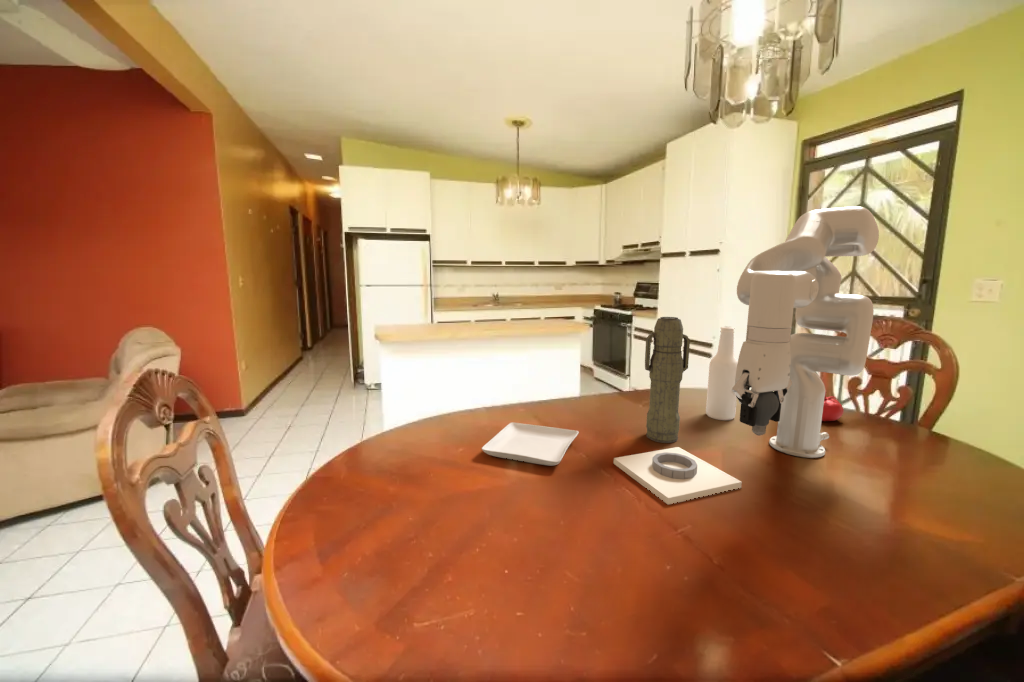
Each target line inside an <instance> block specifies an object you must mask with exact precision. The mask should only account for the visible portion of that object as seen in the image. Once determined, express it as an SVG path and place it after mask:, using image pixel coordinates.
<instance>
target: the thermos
mask: <svg viewBox="0 0 1024 682" xmlns="http://www.w3.org/2000/svg"><path fill="white" fill-rule="evenodd" d="M652 339H653V342H652ZM652 343H653V349H652V354H651V348H652V345H651V344H652ZM690 344H691V339H690V338H689V336H688V335H687V334H685V333H684V327H683V324H682V320H681V318H679V317H675V316H660V318H657V320H656V322H655V325H654V328H653V332H651V333H649V334H648V336H647V337H646V338H645V353H644V355H645V356H644V370H646V371H648V372H649V376H648V377H649V380H650V391H649V408H648V411H647V413H646V425H645V427H646V435H645V436H646V438H647V439H649V440H651V441H654V442H656V443H662V444H672V443H676V442H677V441H678V440H679V431H680V421H681V417H680V416H681V415H680V412H679V406H680V405H679V404H680V390H681V389H680V388H681V383H682V380H683V374H684V372H685V371H686V370H688V369H689V358H690V347H691V346H690ZM682 347H683V351H682Z"/></svg>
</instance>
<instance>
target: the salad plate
mask: <svg viewBox="0 0 1024 682" xmlns="http://www.w3.org/2000/svg"><path fill="white" fill-rule="evenodd" d="M579 433H580V432H579V430H574V429H568V428H561V427H560V428H559V427H552V426H545V425H537V424H536V425H535V424H528V423H522V422H521V423H520V422H509V423H508V424H507V425H505V427H504V428H502V429H501V430H500V431H499V432H497V434H495V435H494V436H493V437H492V438H491V439H490V440H489V441H488V442H486V443H485V444H484V445H483V446H482V447H481V450H482V451H483V452H484V453H485V454H486V455H489V456H492V457H497V458H501V459H506V458H507V460H512V459H513V461H517V460H518V462H523V461H524V463H529V464H536V465H543V466H548V467H549V466H551V467H552V466H556V465H559V464H560V463H561V461H562V460H563V457H565V453H566V452H567V451H568V448H569V447H570V445H571V444H572V443H573V441H574V440H575V439H576V438H577V436H578V435H579Z"/></svg>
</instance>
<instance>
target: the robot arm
mask: <svg viewBox="0 0 1024 682" xmlns="http://www.w3.org/2000/svg"><path fill="white" fill-rule="evenodd" d="M876 221H877V220H876V219H875V216H874V215H873V213H872V212H871V211H870V210H869V209H868V208H866V207H863V206H859V205H858V206H854V205H853V206H844V207H843V206H842V207H831V208H821V209H813V210H810V211H807V212H805V213H803V214H802V215H801V216H799V217H798V219H797V220H796V222H795V223H794V224H793V227H792V229H791V231H790V232H789V234H788V235H787V237H786V239H785V240H784V242H781V243H780V244H777V245H775V246H773V247H771V248H768V249H766V250H764V251H762V252H760V253H759V254H757V255H755V256H754V257H753V258H751V260H749V261H748V263H747V264H746V266H745V268H744V269H743V271H742V273H741V275H740V277H739V279H738V281H737V285H736V295H737V298H738V301H740V303H742V304H743V305H746V306H748V312H747V313H748V314H747V325H746V333H745V341H742V345H741V348H740V351H739V355H738V358H737V360H738V364H737V370H736V377H735V385H734V386H733V388H732V391H733V393H734V394H735V395H736V397H737V400H738V403H739V404H740V410H739V411H740V412H739V422H740V423H742V424H745V425H747V426H750V427H752V426H755V423H756V413H757V407H754V406H755V403H756V401H757V398H758V395H759V393H765V392H773V393H774V394H775V395H776V396H777V398H778V401H779V407H778V410H777V412H776V413H775V414H774V415H773V416H772V417H771V419H770V420H769V421H773V422H777V429H776V435H774V436H772V437H770V438H769V442H768V443H769V445H770V446H771V447H772V448H773V449H775V450H777V451H778V452H781V453H783V454H786V455H791V456H795V457H801V458H810V459H814V458H815V459H817V458H821V457H823V456H825V454H826V449H825V447H824V446H823V445H821V441H823V440H828V439H829V438H830V434H829V433H828V432H825V431H823V432H821V429H822V422H823V421H822V413H823V405H824V397H825V392H826V386H825V383H824V382H823V380H822V378H820V375H818V373H828V374H835V375H840V376H841V375H842V376H858V375H860V374H861V373H862V372H863V371H864V369H865V365H866V362H867V358H868V352H869V344H870V339H871V332H872V326H873V321H874V313H875V311H874V310H875V309H874V304H873V302H872V299H870V298H869V297H868V296H866V295H862V294H852V293H851V294H850V293H840V288H841V283H842V274H841V272H840V271H839V269H838V268H837V267H836V266H835V265H834V263H833V262H831V261H830V260H829V259H828V258H827V257H861V256H862V257H863V256H867V255H870V254H871V253H872V252H873V251H874V250H875V249H876V248H877V246H878V245H877V244H878V242H879V237H880V232H879V226H878V223H877V222H876ZM794 309H795V322H796V324H797V325H798V326H799V327H801V328H804V329H810V330H815V331H817V330H818V331H831V332H841V333H844V334H846V336H841V335H840V336H839V335H829V334H828V335H827V334H821V333H820V334H819V333H807V332H799V333H798V332H797V333H793V334H792V326H793V316H794ZM817 372H818V373H817ZM748 393H751V394H752V395H751V398H749V397H748Z"/></svg>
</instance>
